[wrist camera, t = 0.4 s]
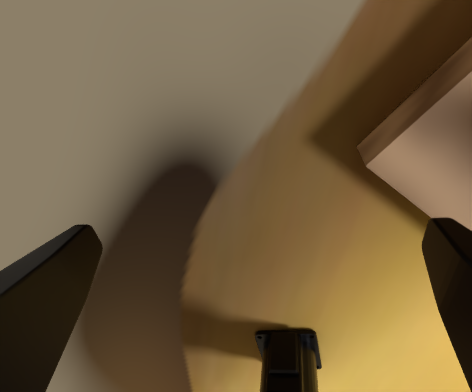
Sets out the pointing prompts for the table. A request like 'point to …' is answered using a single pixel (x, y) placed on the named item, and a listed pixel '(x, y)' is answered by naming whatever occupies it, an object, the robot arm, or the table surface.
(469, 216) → the two-hole peg block
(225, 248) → the table surface
